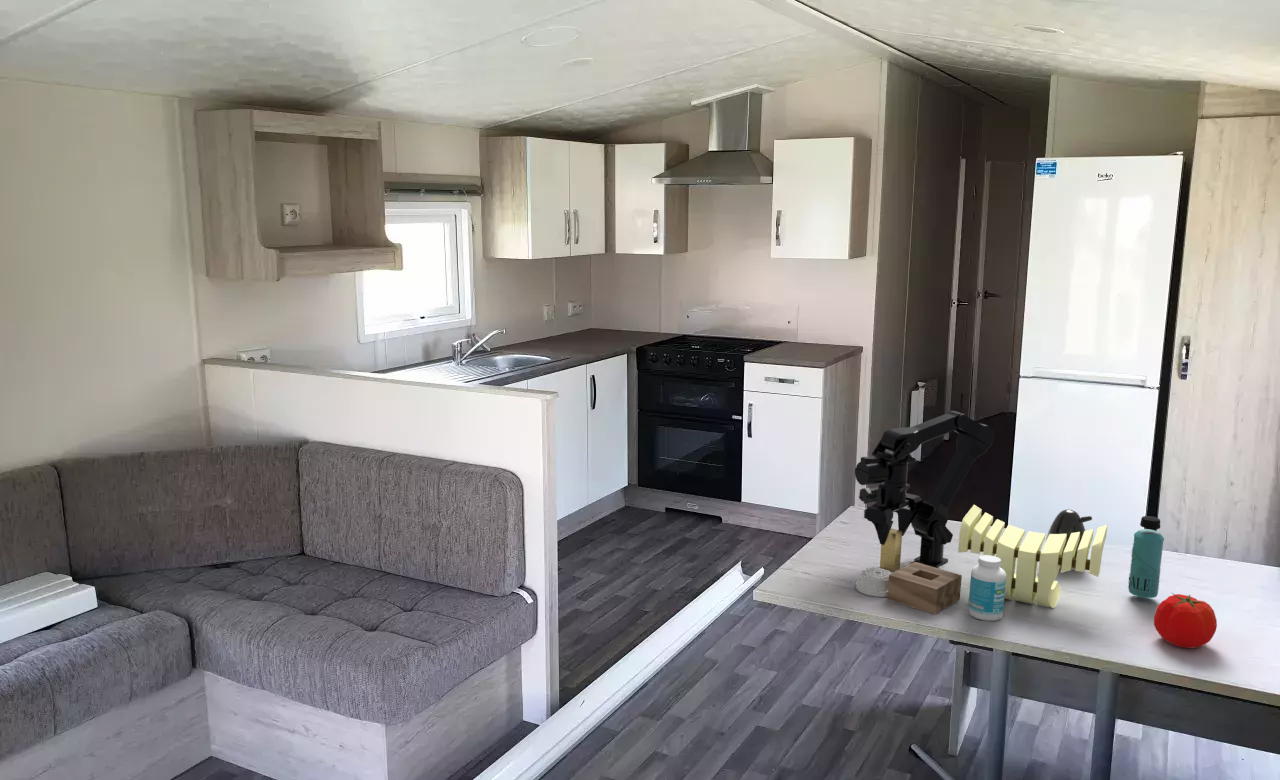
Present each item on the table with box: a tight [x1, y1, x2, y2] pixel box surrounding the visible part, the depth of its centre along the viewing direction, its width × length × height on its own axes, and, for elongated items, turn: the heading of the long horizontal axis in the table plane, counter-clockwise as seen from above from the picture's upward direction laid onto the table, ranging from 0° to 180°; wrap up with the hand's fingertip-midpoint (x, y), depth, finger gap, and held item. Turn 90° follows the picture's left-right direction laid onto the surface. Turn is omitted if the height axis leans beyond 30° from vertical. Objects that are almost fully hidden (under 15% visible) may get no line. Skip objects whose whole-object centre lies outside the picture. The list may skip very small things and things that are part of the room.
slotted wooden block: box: [887, 561, 963, 615], centre depth 225 cm, size 12×12×6 cm
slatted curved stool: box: [957, 504, 1108, 609], centre depth 227 cm, size 30×16×18 cm, turn 60°
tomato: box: [1153, 592, 1218, 649], centre depth 203 cm, size 12×12×10 cm
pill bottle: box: [967, 554, 1006, 622], centre depth 216 cm, size 8×7×14 cm
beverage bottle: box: [1128, 515, 1165, 599], centre depth 225 cm, size 6×7×20 cm
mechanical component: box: [855, 567, 893, 598], centre depth 232 cm, size 10×4×10 cm
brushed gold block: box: [879, 527, 903, 573], centre depth 245 cm, size 3×4×10 cm
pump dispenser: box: [1044, 508, 1093, 571], centre depth 246 cm, size 10×10×15 cm
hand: (891, 539), depth 244 cm, fingers open, 9 cm apart
